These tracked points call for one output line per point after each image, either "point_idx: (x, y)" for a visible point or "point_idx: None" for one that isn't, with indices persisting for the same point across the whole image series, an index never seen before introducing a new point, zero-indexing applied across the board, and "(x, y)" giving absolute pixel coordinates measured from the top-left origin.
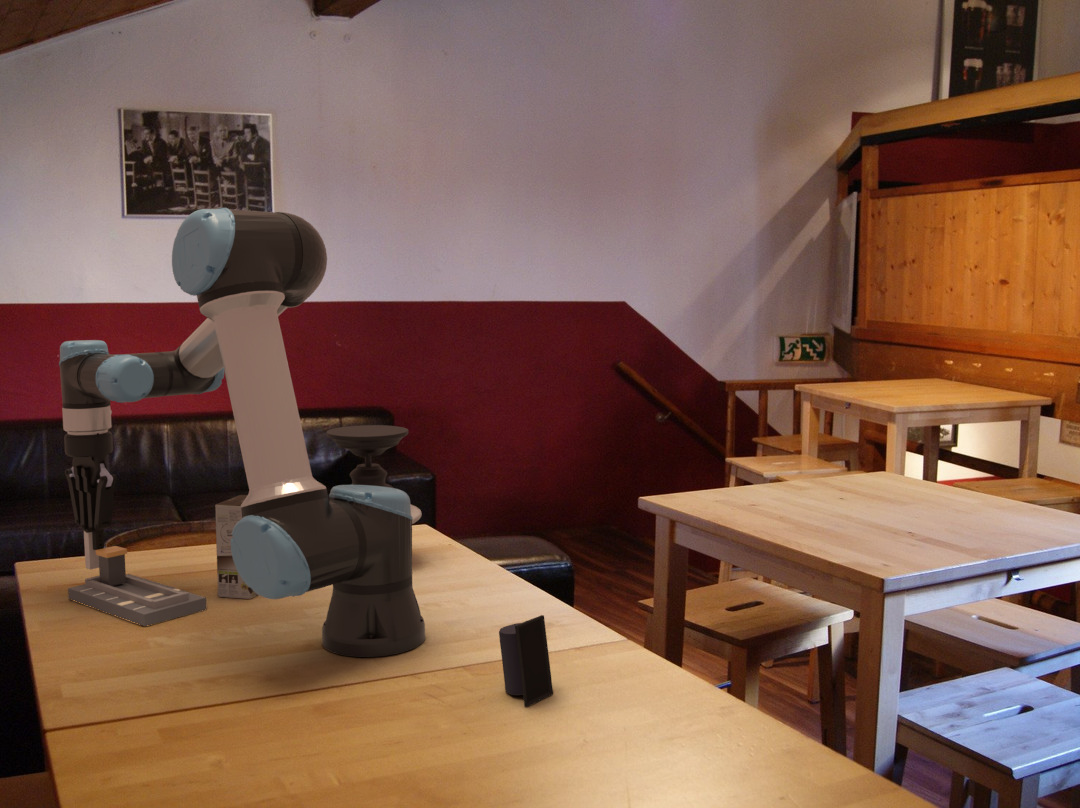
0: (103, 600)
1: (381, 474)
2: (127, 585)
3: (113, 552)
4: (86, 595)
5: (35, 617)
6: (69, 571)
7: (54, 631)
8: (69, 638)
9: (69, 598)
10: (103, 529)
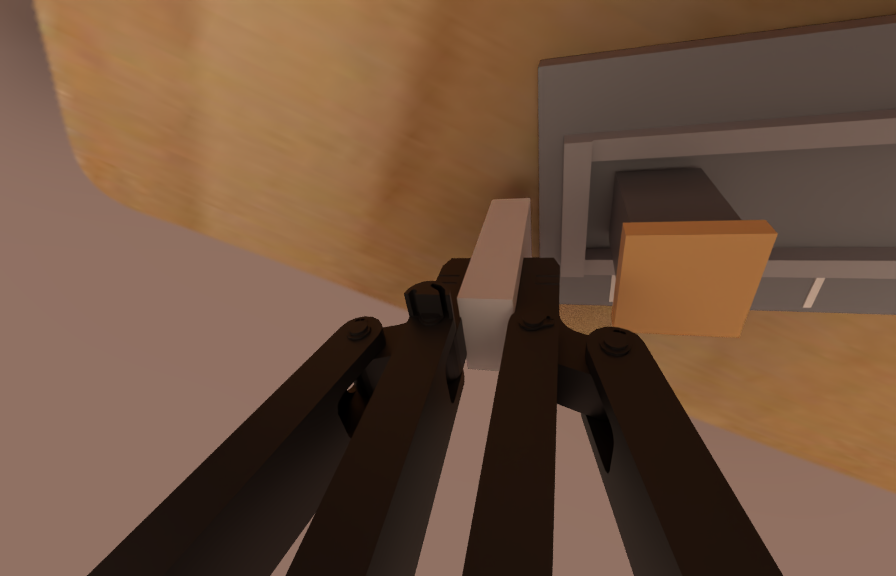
0: (794, 311)
1: None
2: (712, 165)
3: (747, 306)
4: None
5: None
6: (227, 140)
7: (774, 414)
8: (873, 425)
9: None
10: (570, 333)
